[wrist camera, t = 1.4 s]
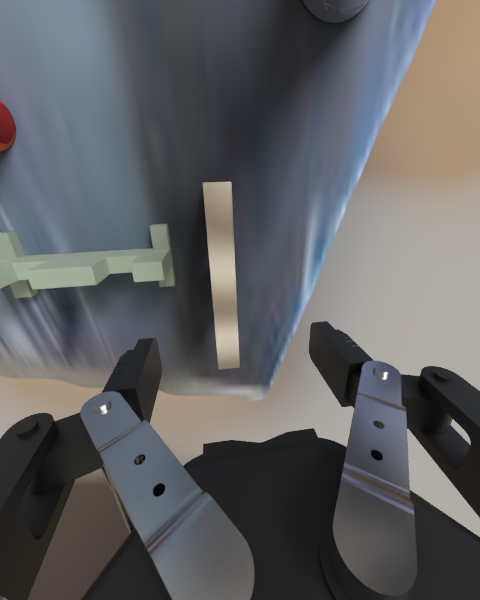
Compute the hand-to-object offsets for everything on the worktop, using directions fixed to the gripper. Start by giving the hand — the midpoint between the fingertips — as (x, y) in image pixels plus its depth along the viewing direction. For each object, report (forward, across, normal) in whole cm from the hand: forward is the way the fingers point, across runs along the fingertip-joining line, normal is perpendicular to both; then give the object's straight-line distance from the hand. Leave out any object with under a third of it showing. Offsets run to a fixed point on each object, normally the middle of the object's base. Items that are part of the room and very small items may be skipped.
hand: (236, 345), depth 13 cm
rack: (+23, +16, 0) cm, 28 cm away
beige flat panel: (+23, 0, 0) cm, 23 cm away
